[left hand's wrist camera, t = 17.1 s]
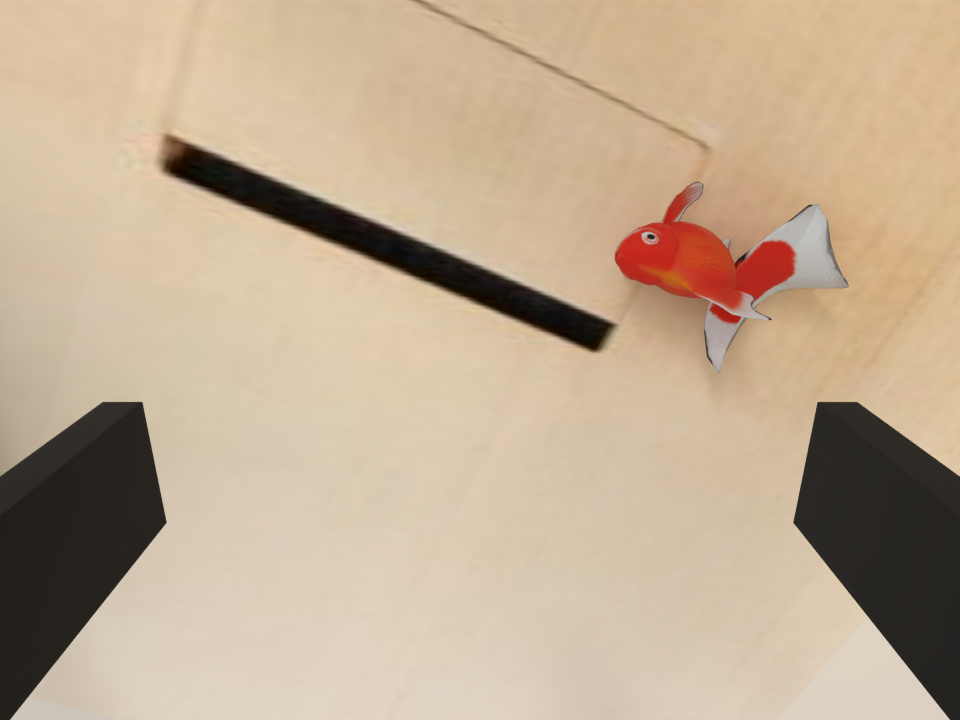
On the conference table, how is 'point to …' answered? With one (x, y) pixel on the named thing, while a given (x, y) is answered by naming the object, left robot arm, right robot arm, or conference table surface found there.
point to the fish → (729, 266)
